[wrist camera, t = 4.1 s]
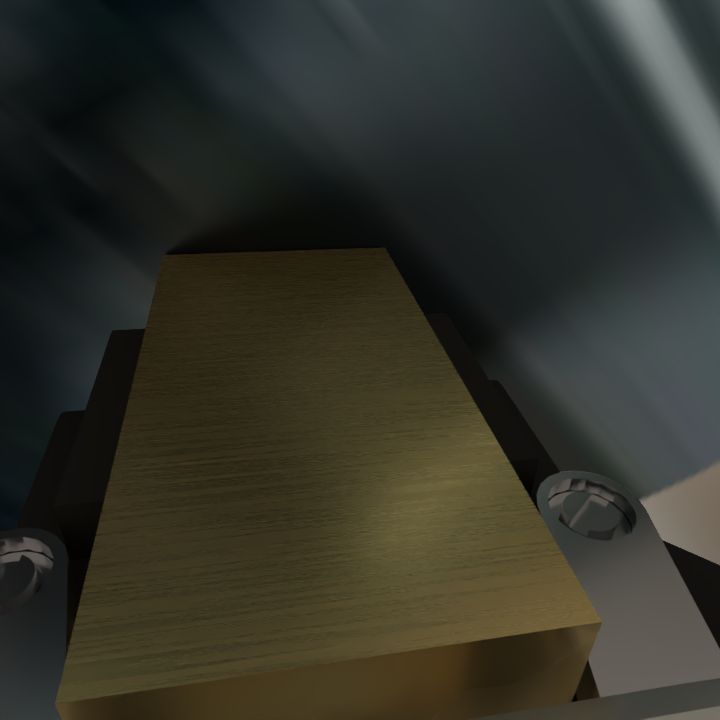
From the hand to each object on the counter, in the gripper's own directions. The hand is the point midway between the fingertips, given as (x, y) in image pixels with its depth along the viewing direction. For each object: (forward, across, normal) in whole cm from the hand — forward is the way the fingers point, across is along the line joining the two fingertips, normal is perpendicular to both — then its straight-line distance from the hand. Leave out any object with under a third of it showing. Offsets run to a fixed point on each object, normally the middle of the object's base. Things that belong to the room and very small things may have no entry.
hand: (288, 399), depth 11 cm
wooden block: (+2, 0, 0) cm, 2 cm away
